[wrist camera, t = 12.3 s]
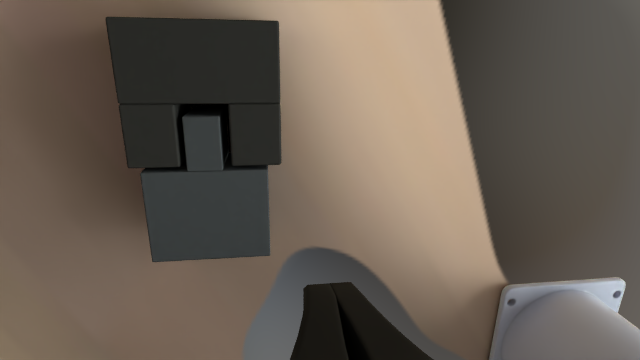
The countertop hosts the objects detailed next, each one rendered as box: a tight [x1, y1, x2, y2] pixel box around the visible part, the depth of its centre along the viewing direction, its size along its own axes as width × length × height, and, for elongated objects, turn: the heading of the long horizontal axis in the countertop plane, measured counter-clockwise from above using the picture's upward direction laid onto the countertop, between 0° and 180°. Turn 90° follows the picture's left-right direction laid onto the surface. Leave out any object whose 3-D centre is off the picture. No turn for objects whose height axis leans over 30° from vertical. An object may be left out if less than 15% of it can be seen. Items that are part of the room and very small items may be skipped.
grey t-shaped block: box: [140, 106, 270, 262], centre depth 17 cm, size 6×5×3 cm
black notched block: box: [106, 17, 281, 168], centre depth 16 cm, size 6×6×3 cm
